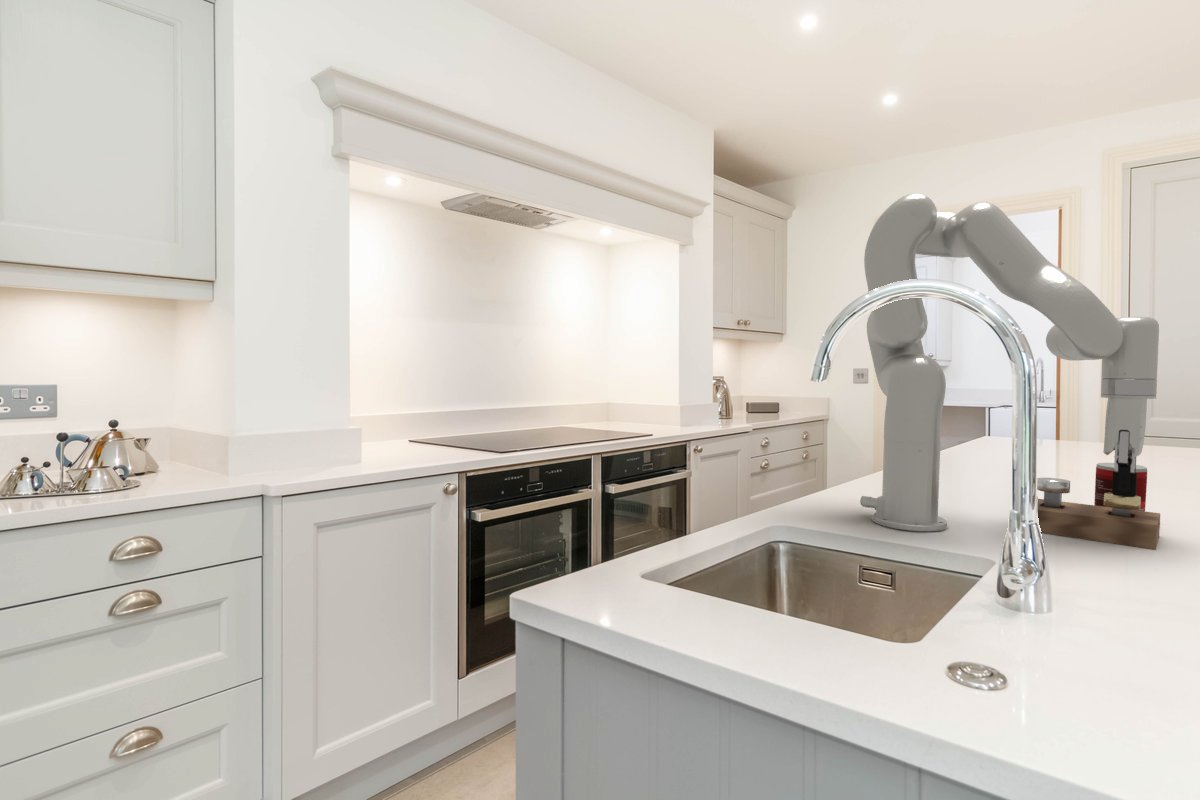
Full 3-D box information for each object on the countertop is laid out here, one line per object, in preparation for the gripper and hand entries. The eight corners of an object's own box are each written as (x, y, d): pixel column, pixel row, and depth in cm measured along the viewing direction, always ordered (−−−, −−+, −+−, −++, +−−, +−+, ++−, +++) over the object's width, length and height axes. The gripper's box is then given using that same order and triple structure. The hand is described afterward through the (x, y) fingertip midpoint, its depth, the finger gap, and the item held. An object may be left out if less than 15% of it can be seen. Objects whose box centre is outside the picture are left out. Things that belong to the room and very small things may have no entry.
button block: (1013, 528, 122) (1014, 506, 121) (1026, 517, 130) (1026, 497, 130) (1155, 549, 108) (1156, 525, 108) (1159, 535, 117) (1160, 513, 117)
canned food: (1141, 521, 128) (1144, 464, 127) (1147, 530, 121) (1150, 470, 121) (1091, 516, 132) (1094, 461, 132) (1095, 524, 125) (1098, 466, 125)
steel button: (1033, 512, 122) (1035, 479, 122) (1038, 508, 126) (1040, 476, 126) (1066, 516, 119) (1068, 483, 119) (1070, 512, 123) (1072, 479, 122)
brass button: (1101, 529, 116) (1102, 495, 115) (1104, 524, 119) (1105, 491, 119) (1137, 534, 112) (1139, 499, 112) (1139, 529, 116) (1141, 495, 116)
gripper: (1105, 388, 123) (1101, 486, 124) (1096, 390, 111) (1092, 498, 112) (1158, 388, 118) (1154, 491, 118) (1154, 391, 106) (1149, 505, 107)
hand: (1124, 495), depth 115 cm, fingers closed
